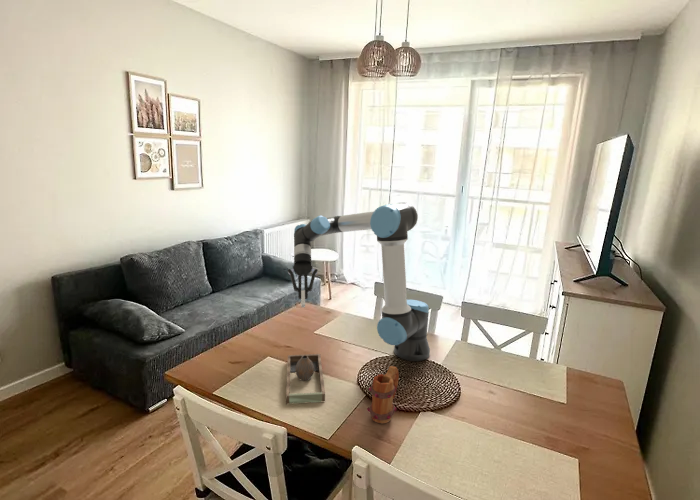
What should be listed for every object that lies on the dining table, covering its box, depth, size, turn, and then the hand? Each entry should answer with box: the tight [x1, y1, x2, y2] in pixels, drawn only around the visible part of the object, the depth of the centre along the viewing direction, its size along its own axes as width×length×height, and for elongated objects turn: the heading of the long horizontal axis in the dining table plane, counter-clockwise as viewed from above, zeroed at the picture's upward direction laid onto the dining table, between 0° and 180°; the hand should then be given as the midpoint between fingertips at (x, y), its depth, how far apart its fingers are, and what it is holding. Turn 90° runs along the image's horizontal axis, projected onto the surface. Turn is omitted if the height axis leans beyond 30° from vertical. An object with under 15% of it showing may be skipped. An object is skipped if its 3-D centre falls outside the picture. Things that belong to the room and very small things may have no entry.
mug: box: [366, 365, 400, 424], centre depth 127 cm, size 15×8×15 cm, turn 148°
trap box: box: [285, 353, 326, 405], centre depth 147 cm, size 28×13×3 cm, turn 8°
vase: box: [295, 354, 315, 382], centre depth 148 cm, size 7×7×9 cm
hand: (303, 306), depth 163 cm, fingers closed
